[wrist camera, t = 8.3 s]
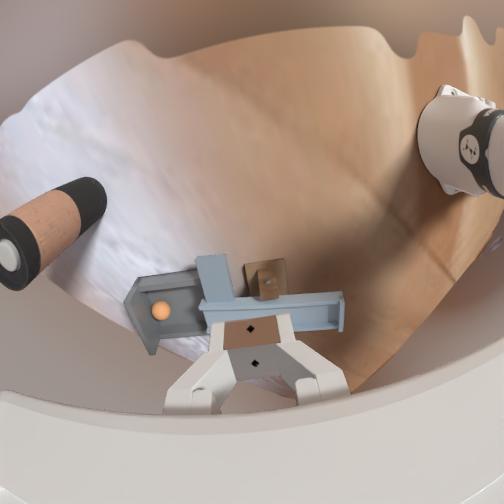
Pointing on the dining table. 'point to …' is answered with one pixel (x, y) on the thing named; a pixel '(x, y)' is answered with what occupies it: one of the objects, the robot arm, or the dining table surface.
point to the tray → (177, 297)
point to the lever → (298, 305)
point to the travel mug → (47, 229)
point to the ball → (161, 310)
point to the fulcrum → (267, 279)
